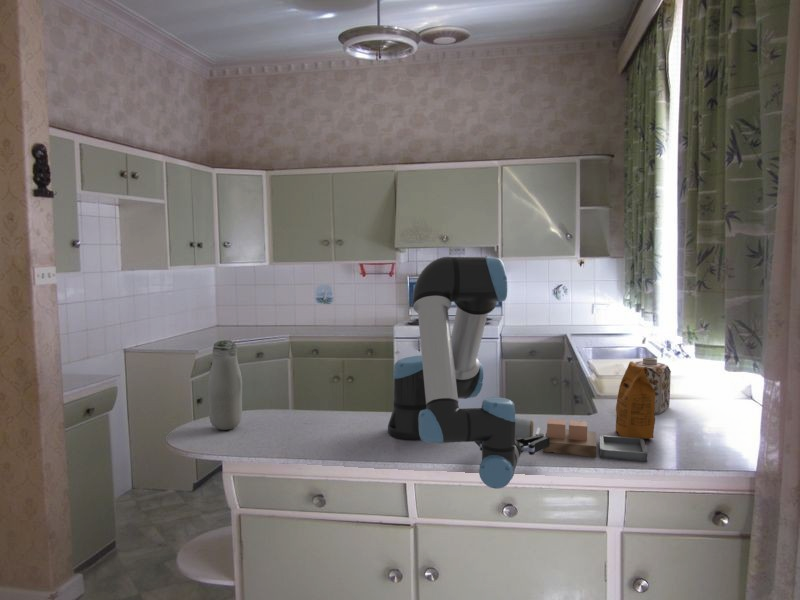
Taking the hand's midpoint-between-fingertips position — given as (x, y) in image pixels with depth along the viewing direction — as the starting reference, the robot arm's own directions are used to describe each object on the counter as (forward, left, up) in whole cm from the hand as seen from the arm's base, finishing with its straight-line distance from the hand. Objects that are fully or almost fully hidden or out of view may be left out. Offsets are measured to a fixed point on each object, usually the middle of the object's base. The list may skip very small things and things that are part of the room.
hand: (514, 430), depth 177 cm
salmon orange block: (+17, +10, -3) cm, 20 cm away
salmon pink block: (+11, +10, -3) cm, 15 cm away
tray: (+29, +10, -6) cm, 31 cm away
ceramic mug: (0, +11, -7) cm, 13 cm away
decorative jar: (+40, +63, -7) cm, 75 cm away
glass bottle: (-89, -3, -6) cm, 89 cm away
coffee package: (+33, +27, -6) cm, 43 cm away
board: (+15, +10, -6) cm, 19 cm away
